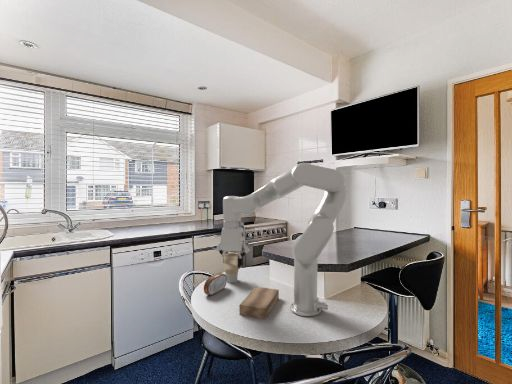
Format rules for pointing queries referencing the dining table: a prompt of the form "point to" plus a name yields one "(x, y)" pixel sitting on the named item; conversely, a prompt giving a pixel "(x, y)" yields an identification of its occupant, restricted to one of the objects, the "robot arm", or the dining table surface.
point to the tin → (215, 284)
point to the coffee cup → (231, 275)
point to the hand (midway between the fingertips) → (233, 265)
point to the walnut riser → (259, 302)
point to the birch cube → (231, 261)
